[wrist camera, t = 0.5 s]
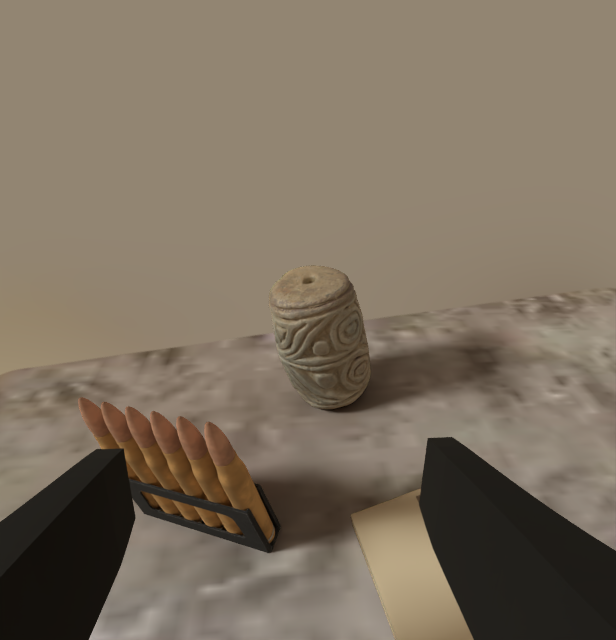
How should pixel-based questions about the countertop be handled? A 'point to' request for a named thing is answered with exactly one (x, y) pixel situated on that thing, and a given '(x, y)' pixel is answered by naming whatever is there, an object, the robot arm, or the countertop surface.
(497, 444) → the countertop surface
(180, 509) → the ammunition clip
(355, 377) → the carving
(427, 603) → the board
